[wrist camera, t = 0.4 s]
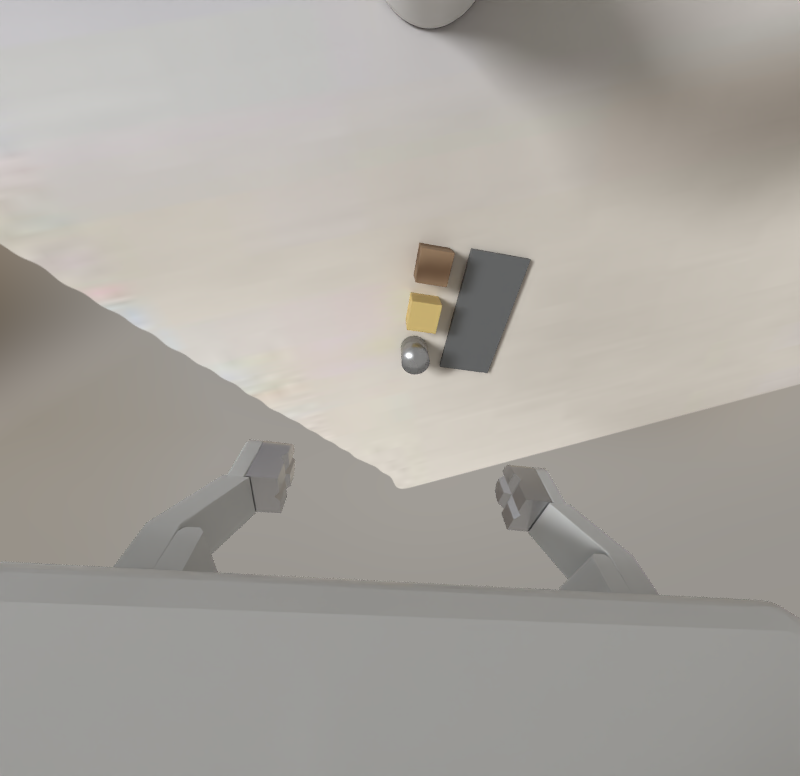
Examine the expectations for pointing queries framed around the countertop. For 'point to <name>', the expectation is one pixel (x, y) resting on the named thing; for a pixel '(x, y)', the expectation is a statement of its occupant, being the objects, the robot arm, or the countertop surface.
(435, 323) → the mustard block
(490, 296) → the rubber mat
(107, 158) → the countertop surface
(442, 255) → the walnut block
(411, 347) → the metal canister
